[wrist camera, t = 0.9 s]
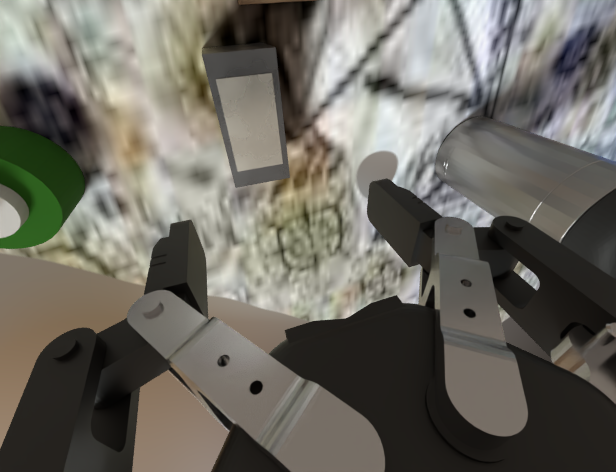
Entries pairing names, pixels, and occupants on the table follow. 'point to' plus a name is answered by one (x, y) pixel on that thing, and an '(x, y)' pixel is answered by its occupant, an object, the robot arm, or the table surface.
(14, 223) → the candle
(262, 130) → the block
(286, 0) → the tray
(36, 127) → the table surface
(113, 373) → the robot arm
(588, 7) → the table surface
